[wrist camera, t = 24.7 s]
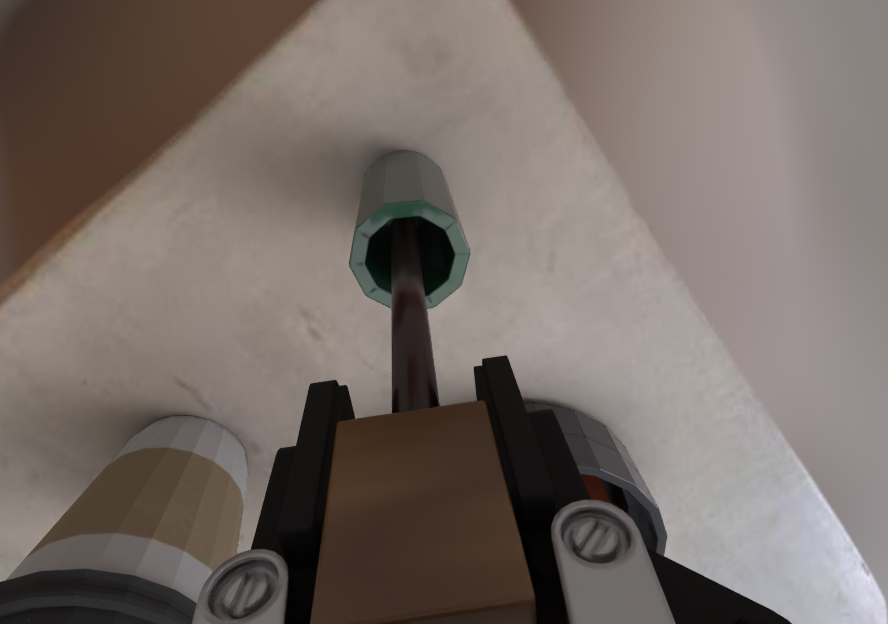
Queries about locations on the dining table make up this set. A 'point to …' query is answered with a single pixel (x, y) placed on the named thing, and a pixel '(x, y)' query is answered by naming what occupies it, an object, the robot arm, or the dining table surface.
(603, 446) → the bowl
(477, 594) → the wooden cube mallet
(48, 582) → the coffee cup
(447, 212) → the holder
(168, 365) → the dining table surface
